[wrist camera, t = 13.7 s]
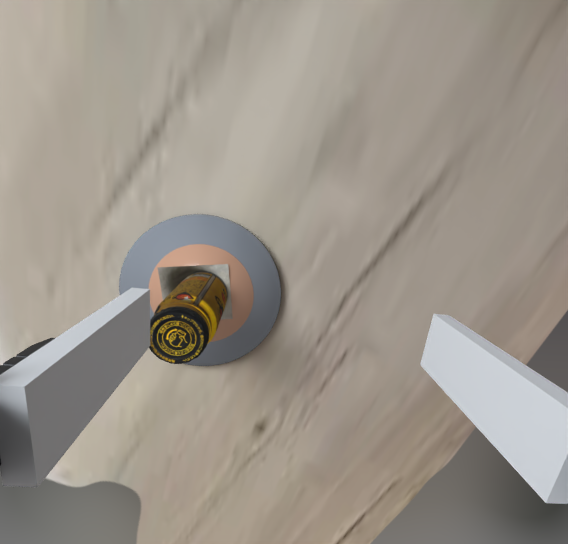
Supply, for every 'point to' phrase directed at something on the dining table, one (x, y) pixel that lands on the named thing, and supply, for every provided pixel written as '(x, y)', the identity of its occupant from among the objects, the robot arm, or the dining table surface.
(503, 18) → the dining table surface
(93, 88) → the dining table surface
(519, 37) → the dining table surface
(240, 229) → the ring stand
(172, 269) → the condiment
